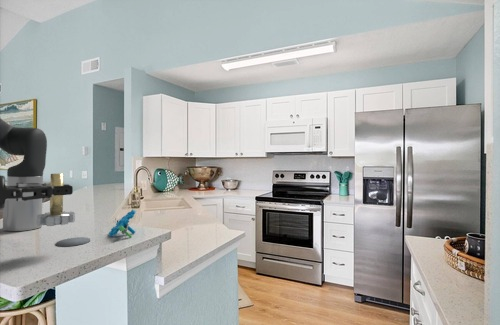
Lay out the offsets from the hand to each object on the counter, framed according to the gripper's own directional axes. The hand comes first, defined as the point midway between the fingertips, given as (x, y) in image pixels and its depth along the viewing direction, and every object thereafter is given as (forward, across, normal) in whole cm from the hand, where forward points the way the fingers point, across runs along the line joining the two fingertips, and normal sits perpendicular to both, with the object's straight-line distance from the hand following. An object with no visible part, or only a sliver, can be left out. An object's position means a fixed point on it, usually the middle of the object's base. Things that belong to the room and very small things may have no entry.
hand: (70, 189), depth 70 cm
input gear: (-3, 0, +8) cm, 9 cm away
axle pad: (+2, +7, +16) cm, 17 cm away
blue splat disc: (+15, +6, +16) cm, 23 cm away
